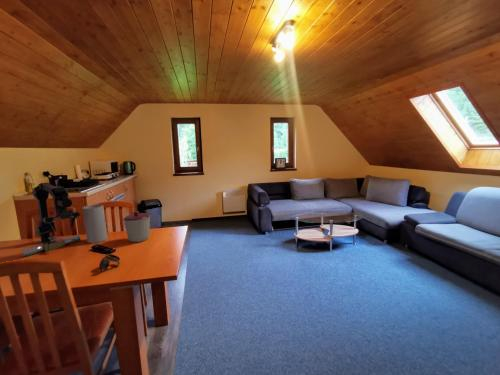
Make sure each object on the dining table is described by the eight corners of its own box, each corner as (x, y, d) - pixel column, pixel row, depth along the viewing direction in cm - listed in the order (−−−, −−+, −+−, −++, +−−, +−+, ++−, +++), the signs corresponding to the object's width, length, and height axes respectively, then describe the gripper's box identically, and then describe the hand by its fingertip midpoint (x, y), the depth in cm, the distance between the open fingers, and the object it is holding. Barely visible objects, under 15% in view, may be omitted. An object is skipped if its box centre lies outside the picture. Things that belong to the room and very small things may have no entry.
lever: (48, 239, 169) (47, 237, 169) (54, 237, 172) (54, 235, 171) (56, 243, 161) (55, 240, 160) (62, 241, 163) (62, 239, 163)
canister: (146, 233, 192) (143, 206, 189) (157, 239, 180) (154, 210, 177) (121, 240, 180) (117, 211, 176) (131, 246, 167) (127, 215, 164)
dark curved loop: (100, 266, 141) (107, 252, 142) (117, 272, 142) (124, 258, 144) (92, 270, 129) (99, 255, 131) (110, 277, 130) (117, 261, 132)
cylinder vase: (111, 238, 184) (106, 205, 180) (93, 244, 174) (88, 209, 170) (102, 236, 191) (97, 204, 187) (84, 241, 181) (79, 207, 177)
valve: (22, 255, 160) (20, 245, 159) (77, 240, 185) (76, 231, 184) (25, 257, 156) (23, 247, 155) (81, 241, 181) (80, 233, 180)
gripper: (46, 210, 152) (50, 235, 154) (81, 204, 167) (84, 227, 169) (40, 208, 159) (44, 232, 161) (74, 203, 174) (77, 225, 176)
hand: (63, 229), depth 167 cm, fingers open, 9 cm apart
